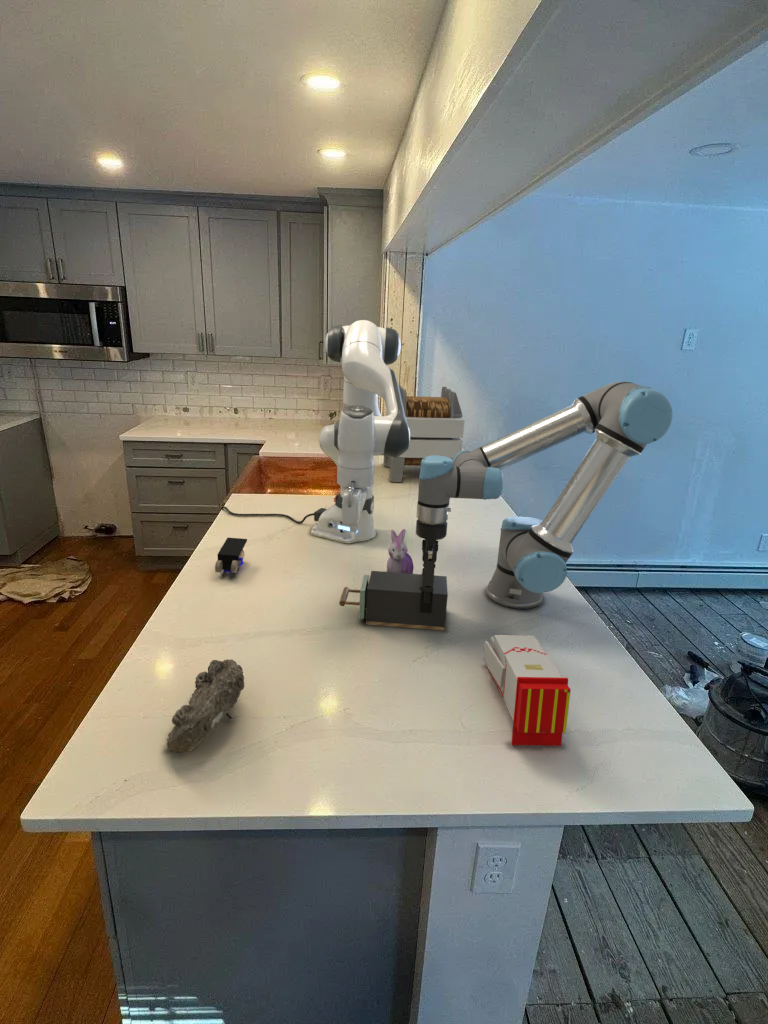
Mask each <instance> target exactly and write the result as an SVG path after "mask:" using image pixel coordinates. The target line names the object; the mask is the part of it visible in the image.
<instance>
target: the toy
mask: <svg viewBox="0 0 768 1024" xmlns="http://www.w3.org/2000/svg"><path fill="white" fill-rule="evenodd" d="M482 660H483V663H485V666H486V668H487V669H488V672H489V673H490V675H491V677H492V679H493V681H494V683H495V685H496V687H497V689H498V692H499V693H500V694H501V697H502V698H503V702H504V703H505V706H506V708H507V710H508V712H509V715H510V717H511V720H512V721H513V722H512V731H511V732H512V733H511V746H534V747H535V746H536V747H537V746H542V747H545V746H546V747H548V746H549V747H550V746H551V747H562V743H563V734H567V727H568V717H569V709H570V698H571V690H572V689H571V688H570V686H569V678H568V677H563V676H562V675H561V673H560V672H559V670H558V669H557V667H556V666H555V664H554V663H553V662H552V660H551V658H550V657H549V655H548V654H547V653H546V651H545V650H544V648H543V647H542V644H541V642H540V640H538V639H537V637H536V636H535V635H521V634H520V635H517V634H494V636H490V642H488V640H485V641H484V645H483V653H482Z"/></svg>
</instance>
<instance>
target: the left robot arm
mask: <svg viewBox="0 0 768 1024" xmlns="http://www.w3.org/2000/svg"><path fill="white" fill-rule="evenodd" d="M324 348H325V352H326V354H327V357H328V358H329V359H330V360H331V361H333V362H335V363H341V370H342V374H343V386H342V387H343V389H342V403H343V406H344V407H343V408H342V410H341V411H340V415H339V420H337V422H336V423H332V424H329V425H325V426H324V427H322V429H321V431H320V432H319V437H318V444H319V447H320V449H321V451H322V452H323V454H325V455H326V456H327V457H328V458H330V459H331V460H332V462H333V463H334V464H335V466H336V483H337V484H338V485H339V486H340V488H339V489H340V490H339V491H338V492H337V494H336V495H335V496H334V497H333V502H334V504H333V505H331V506H329V507H328V508H324V507H321V508H318V509H316V511H314V512H313V513H309V514H307V515H305V516H304V517H303V518H302V520H299V521H297V520H296V519H294V517H291V516H290V515H288V514H284V513H237V512H236V513H235V512H232V511H231V510H230V509H228V507H226V506H225V505H224V506H221V508H220V510H221V511H222V510H226V512H227V513H228V514H230V515H232V516H237V517H284V518H288V519H289V520H290V521H292V522H294V523H296V524H298V525H299V524H303V523H304V522H305V520H306V519H307V518H309V517H312V516H313V521H315V522H317V523H315V524H314V525H313V526H312V528H311V530H310V533H311V536H315V537H319V538H323V539H326V540H330V541H336V542H339V543H343V544H352V543H357V542H365V541H368V540H372V539H373V538H375V537H376V535H377V532H376V528H375V523H374V513H373V512H374V509H375V496H374V482H375V466H376V465H375V459H374V458H375V457H378V456H383V457H384V456H388V457H396V458H397V457H399V456H400V455H402V454H403V453H404V452H406V451H407V450H408V448H409V444H410V430H409V426H408V423H407V420H406V417H405V413H404V409H403V404H402V399H401V395H400V390H399V386H398V385H399V382H398V378H397V375H396V372H395V371H394V369H392V368H390V367H388V365H392V364H394V363H396V361H398V358H399V356H400V353H401V349H402V341H401V338H400V334H399V332H398V331H397V330H396V329H394V328H391V327H387V326H386V327H381V326H377V324H375V323H374V322H372V321H371V320H366V319H360V320H356V321H353V323H351V324H350V325H342V324H337V325H332V326H331V327H330V328H329V329H328V332H327V334H326V336H325V340H324ZM379 397H380V398H382V399H383V401H384V403H385V409H386V412H387V414H388V416H386V415H384V416H383V415H382V414H381V411H380V408H379V407H380V406H379Z"/></svg>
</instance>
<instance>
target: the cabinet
mask: <svg viewBox="0 0 768 1024" xmlns="http://www.w3.org/2000/svg"><path fill="white" fill-rule="evenodd" d="M422 586H423V575H422V573H421V574H420V573H413V574H409V573H395V572H387V571H381V570H380V571H379V570H371V571H370V575H369V583H368V588H367V608H366V612H365V625H370V626H384V627H397V628H408V629H421V630H424V629H425V630H436V631H446V630H445V629H446V620H447V619H446V618H447V609H448V608H447V607H448V596H449V594H448V591H449V590H448V577H447V575H435V574H434V582H433V588H434V590H433V597H432V609H431V613H420V607H421V593H422V590H419V587H422Z"/></svg>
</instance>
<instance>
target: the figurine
mask: <svg viewBox="0 0 768 1024" xmlns="http://www.w3.org/2000/svg"><path fill="white" fill-rule="evenodd" d="M406 534H407V530H406V529H405V528H403V529H401V531H400V532H399V534H398V535H397V533H396V531H395V530H394V529H391V530H390V544H389V546H388V549H387V551H388V552H387V553H388V555H389V557H388V559H387V560H386V561H387V562H386V572H395V573H409V574H414V570H415V569H414V562H413V559H412V556H411V555H410V554H409V553H408V548H407V544H406V543H405V539H406Z"/></svg>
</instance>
